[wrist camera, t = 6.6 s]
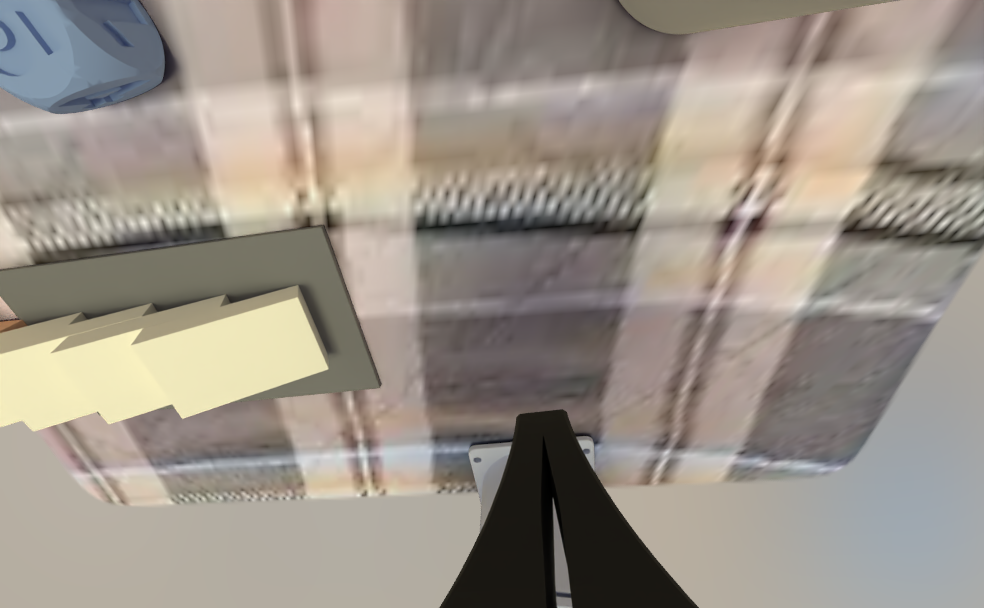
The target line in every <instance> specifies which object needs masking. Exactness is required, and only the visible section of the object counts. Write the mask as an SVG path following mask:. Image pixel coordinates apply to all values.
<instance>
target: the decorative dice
mask: <svg viewBox="0 0 984 608" xmlns="http://www.w3.org/2000/svg"><path fill="white" fill-rule="evenodd" d="M164 70H165V56H164V49H163V45H162V41H161V38H160V36H159V33H158V31H157V29H156V27H155V25H154V23H153V22H152V20H151V18H150V17H149V15H148V14H147V12H146V11H145V9H144V8H143V6H142V5H141V4H140V3H139V1H138V0H0V87H1V88H2V89H4V90H5V91H7V92H8V93H10V94H12V95H13V96H15V97H17V98H19V99H20V100H22V101H24V102H26V103H28V104H30V105H33V106H35V107H37V108H40V109H42V110H45V111H48V112H51V113H55V114H68V113H77V112H83V111H88V110H93V109H97V108H101V107H105V106H108V105H112V104H115V103H118V102H122V101H124V100H127V99H130V98H133V97H135V96H138V95H140V94H142V93H145V92H147V91H149V90H151V89H152V88H154V87H156V86H157V85H158V84H160V83H161V82H162V80H163V75H164Z"/></svg>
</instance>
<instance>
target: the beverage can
mask: <svg viewBox="0 0 984 608" xmlns="http://www.w3.org/2000/svg"><path fill="white" fill-rule="evenodd" d="M892 1H899V0H619V2H620V3H621V4H622V6H623V7H624V8H625V9H626V10H627V12H628V13H629V14H630V15H631V16H632V17H634V18H635V19H636V20H637V21H639V22H640V23H642V24H643V25H645V26H646V27H649V28H651V29H653V30H656V31H659V32H662V33H668V34H691V33H698V32H704V31H710V30H717V29H723V28H729V27H735V26H742V25H748V24H754V23H760V22H767V21H773V20H779V19H786V18H792V17H798V16H804V15H811V14H817V13H823V12H830V11H836V10H842V9H848V8H855V7H861V6H867V5H873V4H880V3H886V2H892Z"/></svg>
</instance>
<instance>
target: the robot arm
mask: <svg viewBox="0 0 984 608" xmlns="http://www.w3.org/2000/svg"><path fill="white" fill-rule="evenodd" d="M476 457H479V458H476ZM469 458H470V462H471V466H472V470H473V474H474V478H475V482H476V486H477V490H478V494H479V498H480V502H481V505H482V506H481V524H480V534H479V536H478V538H477V540H476V542H475V544H474V546H473V549H472V550H471V552H470V554H469V556H468V558H467V560H466V562H465V564H464V566H463V568H462V570H461V572H460V574H459V575H458V577H457V579H456V581H455V582H454V584H453V586H452V588H451V589H450V591H449V593H448V594H447V596H446V598H445V599H444V601H443V603H442V604H441V606H440V608H699V607H698V606H697V605H696V604H695V603H694V602H693V601H692V600H691V599H690V598H689V597H688V595H687V594H686V593H685V592H684V591H683V590H682V589H681V587H680V586H679V585H678V584H677V583H676V582H675V581H674V579H673V578H672V577H671V576H670V575H669V574H668V572H667V571H666V570H665V569H664V568H663V566H661V564H660V563H659V562H658V561H657V560H656V558H655V557H654V556H653V555H652V553H651V552H650V551H649V549H648V548H647V547H646V546H645V544H644V543H643V542H642V541H641V539H640V538H639V537H638V535H637V534H636V533H635V532H634V530H633V529H632V527H631V526H630V525H629V523H628V522H627V521H626V519H625V518H624V516H623V515H622V514H621V512H620V511H619V509H618V508H617V507H616V505H615V504H614V502H613V501H612V499H611V497H610V496H609V495H608V493H607V491H606V490H605V488H604V487H603V485H602V483H601V482H600V480H599V479H598V477H597V475H596V473H595V463H594V443H593V440H592V438H591V437H588V436H580V437H576V436H575V434H574V431H573V429H572V426H571V424H570V421H569V418H568V415H567V412H566V411H564V410H563V409H562V410H553V411H543V412H534V413H525V414H519V415H518V416H517V417H516V426H515V432H514V437H513V441H512V442H507V443H495V444H483V445H474V446H471V447H470V448H469Z"/></svg>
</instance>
